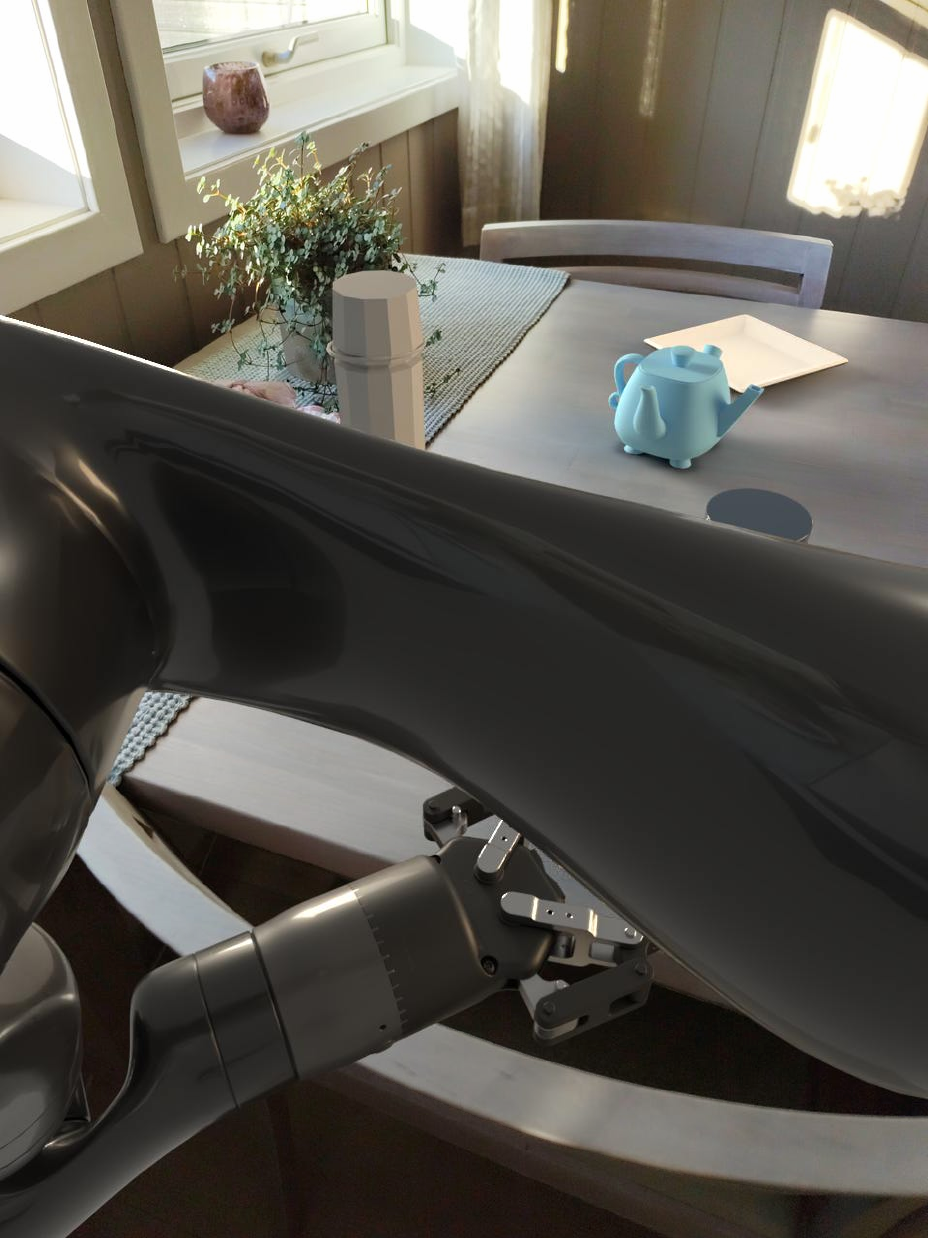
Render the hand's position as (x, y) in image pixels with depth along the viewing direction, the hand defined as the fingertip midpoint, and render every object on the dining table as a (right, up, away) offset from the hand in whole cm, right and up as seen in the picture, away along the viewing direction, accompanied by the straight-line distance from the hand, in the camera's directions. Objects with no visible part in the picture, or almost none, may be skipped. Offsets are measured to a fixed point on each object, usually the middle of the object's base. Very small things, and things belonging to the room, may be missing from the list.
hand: (645, 839), depth 47 cm
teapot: (+14, +31, +50) cm, 61 cm away
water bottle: (-17, +18, +35) cm, 43 cm away
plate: (+27, +46, +68) cm, 86 cm away
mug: (+15, +14, +30) cm, 36 cm away
